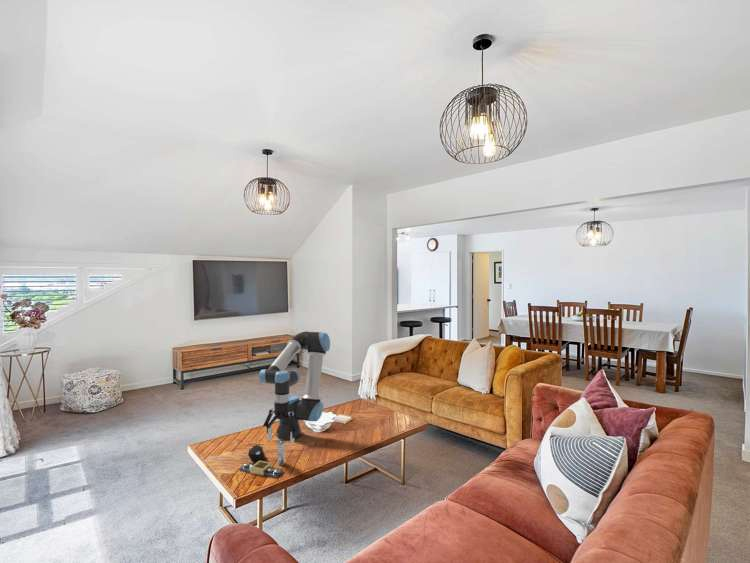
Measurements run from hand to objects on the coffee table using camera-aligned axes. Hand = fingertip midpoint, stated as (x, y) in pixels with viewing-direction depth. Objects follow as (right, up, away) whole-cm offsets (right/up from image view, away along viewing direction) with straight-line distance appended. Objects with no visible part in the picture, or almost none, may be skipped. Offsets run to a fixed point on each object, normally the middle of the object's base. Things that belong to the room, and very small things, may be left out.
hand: (280, 441), depth 204 cm
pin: (0, -12, +1) cm, 12 cm away
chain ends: (-8, -12, -7) cm, 16 cm away
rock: (-15, -12, +6) cm, 20 cm away
